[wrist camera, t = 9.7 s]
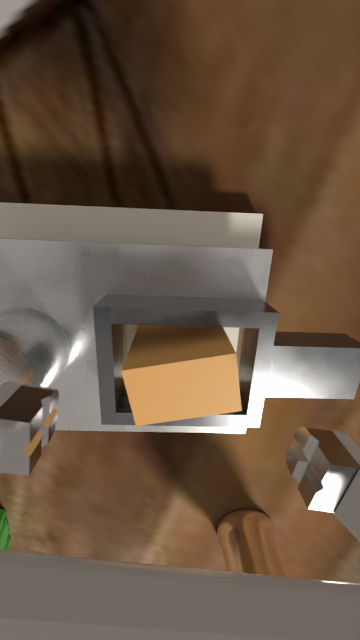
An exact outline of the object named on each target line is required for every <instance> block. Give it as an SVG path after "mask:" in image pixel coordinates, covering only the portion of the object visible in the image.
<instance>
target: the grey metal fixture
mask: <svg viewBox="0 0 360 640" xmlns="http://www.w3.org/2000/svg"><path fill="white" fill-rule="evenodd" d="M272 253H273V249H267V248H244V247H219V246H194V245H168V244H143V243H118V242H93V241H68V240H43V239H18V238H0V386H1V385H2V384H3V383H4V382H8V381H11V382H17V383H23V384H30V385H35V386H41V387H47V388H53V389H57V390H58V391H59V401H58V402H57V404H56V405H55V409H56V410H57V412H58V417H57V423H56V427H55V430H78V431H134V432H189V433H246V427H253V428H260V422H261V416H262V410H263V404H264V398H265V397H286V398H330V399H354V398H355V394H356V391H357V388H358V385H359V381H360V343H359V342H358V341H356V340H354V339H353V338H351V337H349V336H348V335H346V334H337V333H303V332H276V328H277V322H278V316H279V312H277V311H276V310H275V309H274V308H272V307H271V306H270V305H268V304H267V303H266V302H265V300H266V293H267V286H268V280H269V273H270V266H271V260H272ZM126 324H135V325H168V326H201V327H234V328H239V334H238V342H237V351H236V357H237V367H238V377H239V387H240V397H241V407H242V411H238V412H231V413H225V414H218V415H211V416H204V417H197V418H190V419H183V420H176V421H169V422H162V423H155V424H148V425H142V426H136V424H135V421H134V417H133V413H132V409H131V406H130V402H129V398H128V394H127V391H126V387H125V383H124V379H123V376H122V372H121V370H122V367H123V365H124V362H125V360H126V357H127V349H126Z"/></svg>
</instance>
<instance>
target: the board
mask: <svg viewBox="0 0 360 640" xmlns="http://www.w3.org/2000/svg"><path fill="white" fill-rule="evenodd" d="M262 219H263V214H254V213H231V212H208V211H186V210H163V209H140V208H117V207H94V206H72V205H49V204H26V203H3V202H0V238H18V239H43V240H68V241H93V242H118V243H143V244H168V245H194V246H219V247H244V248H259V242H260V234H261V227H262ZM138 326H139V325H135V324H126V349H127V355H128V352H129V349H130V347H131V344H132V342H133V339H134V337H135V334H136V331H137V329H138ZM223 328H224V330H225V332H226V334H227V336H228V338H229V340H230V342H231V344H232V346H233V348H234V350H235V352H236V351H237V342H238V334H239V328H234V327H223Z"/></svg>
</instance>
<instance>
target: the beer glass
mask: <svg viewBox="0 0 360 640" xmlns="http://www.w3.org/2000/svg"><path fill="white" fill-rule="evenodd" d="M217 535H218V539H219V543H220V546H221V549H222V553H223V556H224V560H225V565H226V570H227V572H237V573H248V574H259V575H270V576H281V577H286V576H285V574H284V571H283V569H282V566H281V563H280V560H279V557H278V553H277V549H276V543H275V537H274V531H273V526H272V523H271V521H270V519H269V518H268V517H267V516H266V515H265V514H264V513H262V512H260V511H257V510H252V509H243V510H237V511H234V512H232V513H229V514H228V515H226V516H225V517H224V518H223V519H222V520H221V521H220V522H219V524H218V527H217Z"/></svg>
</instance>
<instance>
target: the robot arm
mask: <svg viewBox="0 0 360 640" xmlns="http://www.w3.org/2000/svg"><path fill="white" fill-rule="evenodd" d="M58 401H59V391H58V390H57V389H53V388H47V387H41V386H35V385H30V384H23V383H17V382H11V381H8V382H4V383H3V384H2V385H1V386H0V473H9V474H20V475H30V473H31V471H32V470H33V468H34V466H35V465H36V463H37V461H38V459H39V458H40V456H41V447H43V446H44V445H46V444H48V442H49V441H50V439H51V437H52V435H53V432H54V430H55V427H56V423H57V417H58V412H57V410H56V409H55V405H56V404H57V402H58ZM294 436H295V439H296V441H295V442H294V443H292V444H291V445H290V446H289V449H288V452H287V465H288V469H289V471H290V473H291V475H292V476H293V477H294V478H295V479H296V480H297V481H298V482H299V485H298V489H299V491H300V494H301V496H302V498H303V500H304V502H305V504H306V506H307V508H308V509H312V510H319V511H325V512H332V513H334V515H335V516H336V517H337V518H338V519H339V520H340V521H341V522H342V524H343V525H344V526H345V527H346V528H347V529H348V530H349V531H350V532H351V533H352V534H353V535H354V536H355V537H356V538H357V539H358V541H359V542H360V449H359V448H358V447H357V445H356V444H355V443H354V442H353V441H352V440H351V438H350V437H349V436H348V435H347V434H345V433H344V432H342V431H334V430H322V429H316V428H309V427H302V426H300V427H299V428H298V429H297V430H296V433H295V435H294ZM0 640H360V584H357V583H346V582H335V581H324V580H314V579H303V578H292V577H281V576H270V575H259V574H248V573H237V572H227V571H216V570H205V569H195V568H184V567H174V566H163V565H152V564H142V563H131V562H121V561H110V560H99V559H89V558H78V557H67V556H56V555H46V554H35V553H24V552H14V551H3V550H0Z"/></svg>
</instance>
